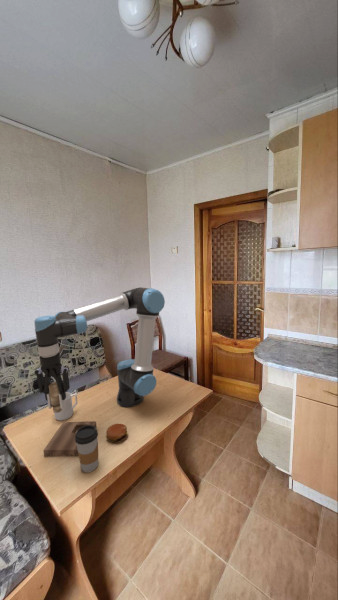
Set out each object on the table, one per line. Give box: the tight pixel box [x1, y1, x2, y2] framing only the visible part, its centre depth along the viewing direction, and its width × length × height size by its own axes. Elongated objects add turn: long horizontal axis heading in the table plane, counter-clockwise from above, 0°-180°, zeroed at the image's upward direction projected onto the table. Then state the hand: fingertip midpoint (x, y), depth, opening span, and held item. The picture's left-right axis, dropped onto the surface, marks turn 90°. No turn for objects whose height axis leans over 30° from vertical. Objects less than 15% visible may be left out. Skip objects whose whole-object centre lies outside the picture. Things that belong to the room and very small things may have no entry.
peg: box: [49, 381, 62, 413], centre depth 103 cm, size 4×4×12 cm
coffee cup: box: [75, 425, 99, 473], centre depth 95 cm, size 8×8×15 cm
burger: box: [105, 423, 129, 443], centre depth 111 cm, size 10×9×5 cm
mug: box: [53, 391, 78, 422], centre depth 129 cm, size 12×9×11 cm
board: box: [43, 420, 97, 458], centre depth 110 cm, size 16×18×3 cm
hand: (57, 406), depth 104 cm, fingers closed on peg, 4 cm apart
